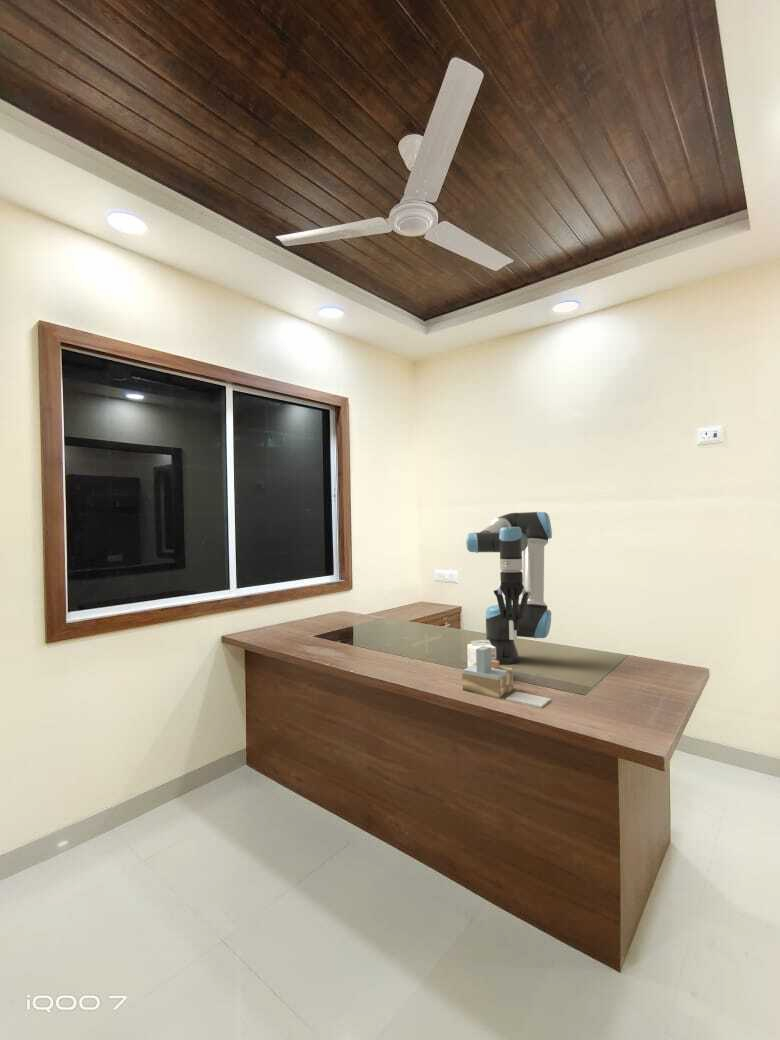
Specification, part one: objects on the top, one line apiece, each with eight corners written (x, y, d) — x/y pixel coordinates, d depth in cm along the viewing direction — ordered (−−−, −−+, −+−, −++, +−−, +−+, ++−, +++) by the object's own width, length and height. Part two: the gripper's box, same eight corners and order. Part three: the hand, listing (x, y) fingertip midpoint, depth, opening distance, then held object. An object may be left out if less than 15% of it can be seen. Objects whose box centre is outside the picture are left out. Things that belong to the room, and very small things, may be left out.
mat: (516, 693, 164) (516, 691, 164) (550, 700, 157) (550, 698, 157) (506, 700, 158) (506, 698, 158) (541, 708, 151) (541, 706, 151)
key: (486, 664, 173) (486, 659, 173) (499, 667, 170) (499, 661, 170) (484, 665, 172) (484, 660, 172) (497, 668, 169) (496, 662, 169)
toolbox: (477, 681, 177) (477, 662, 177) (513, 689, 168) (512, 668, 168) (462, 690, 169) (462, 669, 169) (499, 698, 160) (498, 676, 160)
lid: (476, 669, 176) (475, 641, 176) (510, 675, 167) (509, 646, 168) (463, 675, 169) (462, 647, 169) (498, 683, 160) (497, 652, 160)
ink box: (476, 680, 179) (475, 644, 179) (467, 673, 187) (466, 639, 187) (497, 678, 181) (496, 642, 181) (487, 671, 189) (486, 637, 189)
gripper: (489, 571, 167) (491, 638, 167) (524, 572, 159) (526, 643, 159) (499, 569, 173) (500, 634, 173) (533, 570, 165) (535, 639, 164)
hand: (513, 638), depth 166 cm, fingers closed
